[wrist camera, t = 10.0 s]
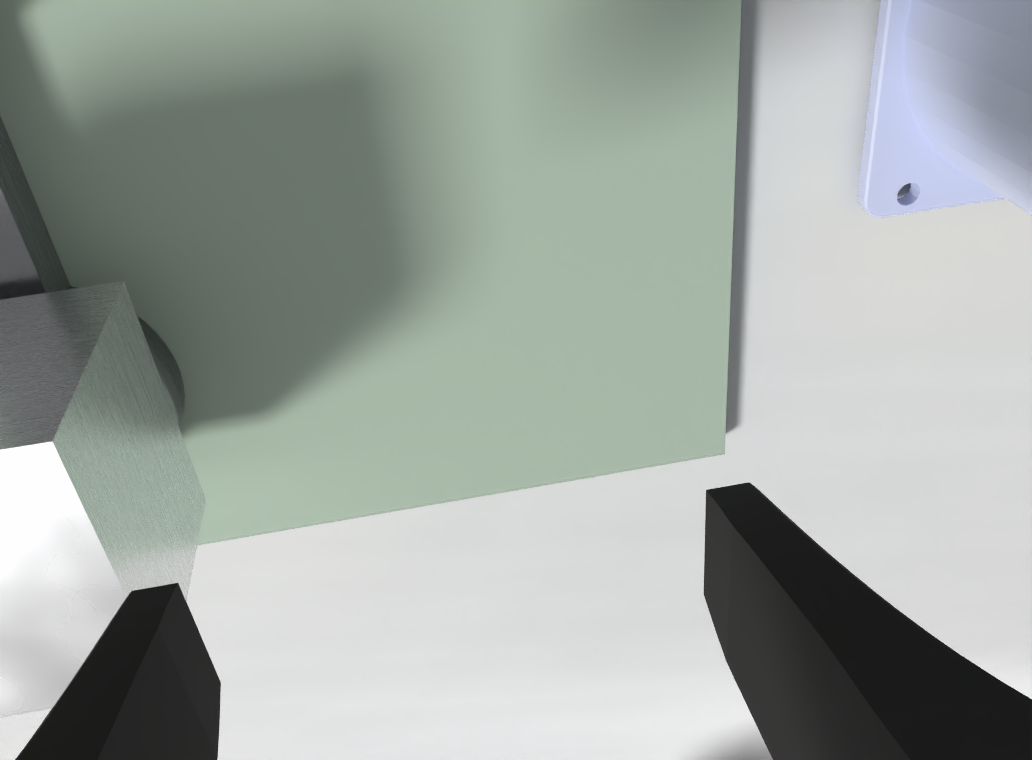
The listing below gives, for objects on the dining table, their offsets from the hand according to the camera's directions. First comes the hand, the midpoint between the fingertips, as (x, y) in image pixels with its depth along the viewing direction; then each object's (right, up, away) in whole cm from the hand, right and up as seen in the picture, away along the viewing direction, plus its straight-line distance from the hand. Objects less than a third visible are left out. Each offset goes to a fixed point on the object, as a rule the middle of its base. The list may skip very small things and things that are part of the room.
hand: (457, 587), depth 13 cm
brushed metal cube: (-9, +2, +6) cm, 11 cm away
